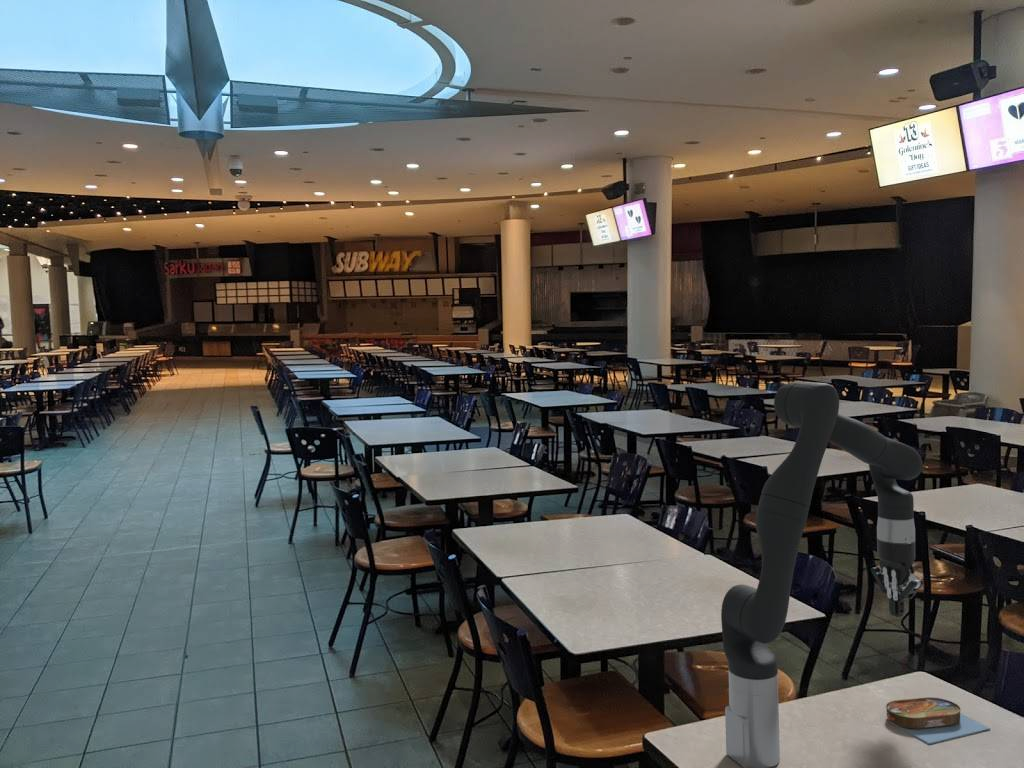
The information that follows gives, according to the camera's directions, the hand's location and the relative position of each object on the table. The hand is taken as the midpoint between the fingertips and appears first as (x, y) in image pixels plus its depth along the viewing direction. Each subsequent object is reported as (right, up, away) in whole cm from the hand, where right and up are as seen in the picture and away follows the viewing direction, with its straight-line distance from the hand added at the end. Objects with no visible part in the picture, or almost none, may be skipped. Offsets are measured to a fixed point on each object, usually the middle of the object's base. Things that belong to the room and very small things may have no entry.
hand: (896, 615), depth 174 cm
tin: (+2, -19, -3) cm, 19 cm away
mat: (+4, -20, -10) cm, 23 cm away
